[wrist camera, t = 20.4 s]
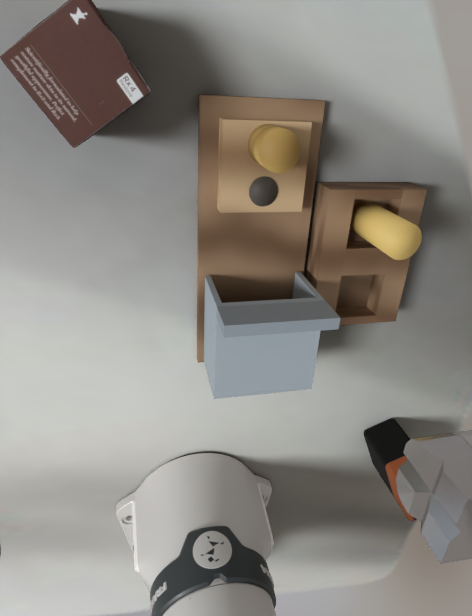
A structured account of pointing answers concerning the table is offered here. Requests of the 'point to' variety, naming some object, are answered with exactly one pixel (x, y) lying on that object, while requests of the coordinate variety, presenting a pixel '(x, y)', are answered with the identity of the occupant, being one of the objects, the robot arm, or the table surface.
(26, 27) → the table surface
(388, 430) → the battery
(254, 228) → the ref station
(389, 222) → the pin
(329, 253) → the board
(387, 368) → the table surface
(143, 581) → the robot arm
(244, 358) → the cover
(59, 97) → the box
